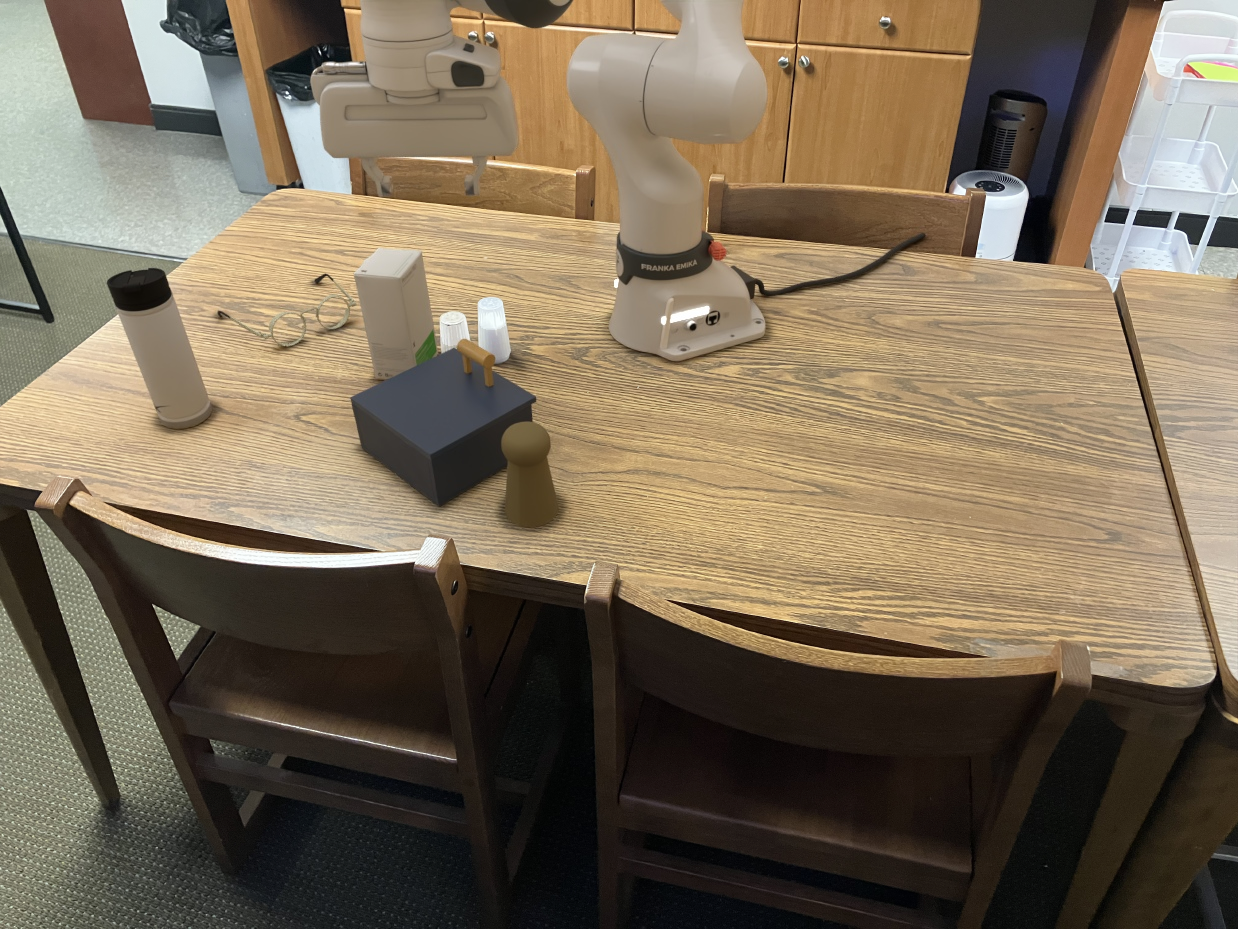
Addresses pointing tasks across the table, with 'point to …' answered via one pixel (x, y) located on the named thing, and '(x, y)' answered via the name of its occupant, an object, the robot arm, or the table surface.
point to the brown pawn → (528, 475)
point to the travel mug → (161, 346)
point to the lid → (444, 399)
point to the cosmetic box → (396, 310)
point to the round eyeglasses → (273, 321)
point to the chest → (445, 471)
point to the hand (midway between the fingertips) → (429, 194)
